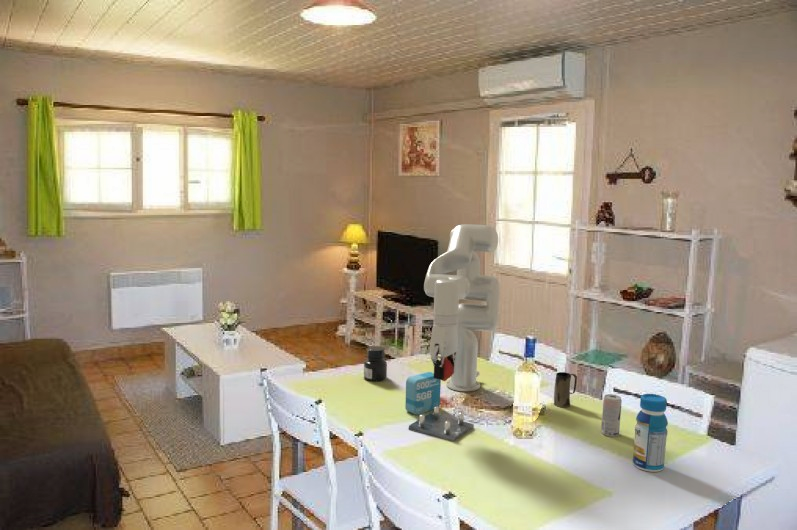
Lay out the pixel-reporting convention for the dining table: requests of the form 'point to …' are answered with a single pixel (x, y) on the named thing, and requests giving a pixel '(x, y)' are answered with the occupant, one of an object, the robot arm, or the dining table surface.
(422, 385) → the data package
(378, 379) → the ink bottle
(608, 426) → the energy drink
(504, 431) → the dining table surface
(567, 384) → the mug
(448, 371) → the onion
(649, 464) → the beverage bottle
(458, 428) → the grey pegged plate
